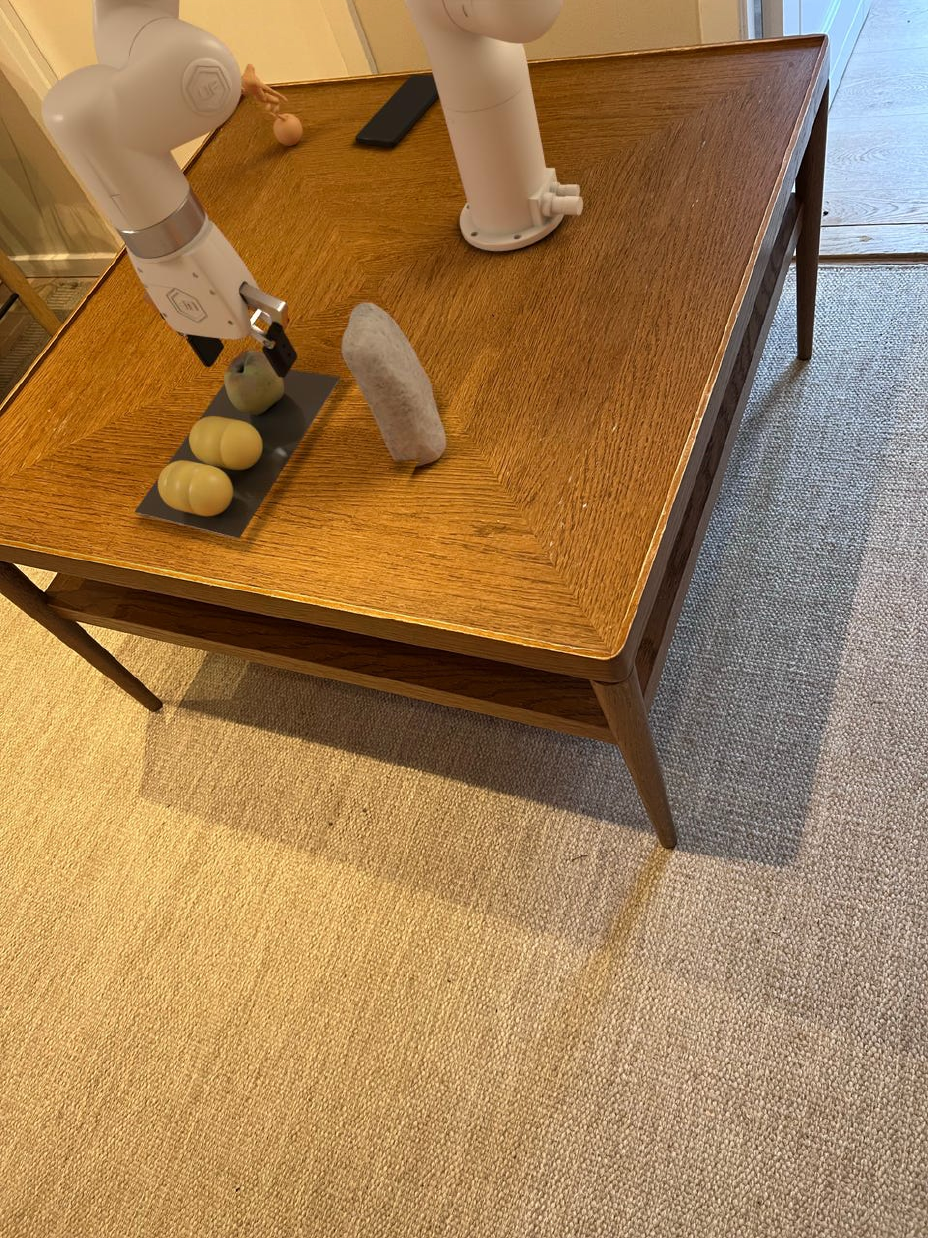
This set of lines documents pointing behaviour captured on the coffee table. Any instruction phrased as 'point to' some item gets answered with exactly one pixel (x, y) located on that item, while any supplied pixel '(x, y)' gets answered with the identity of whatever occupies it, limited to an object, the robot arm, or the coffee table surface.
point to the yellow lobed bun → (225, 443)
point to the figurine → (285, 124)
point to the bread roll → (195, 488)
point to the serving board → (279, 441)
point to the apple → (252, 383)
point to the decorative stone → (393, 385)
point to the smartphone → (400, 112)
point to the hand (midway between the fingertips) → (251, 362)
